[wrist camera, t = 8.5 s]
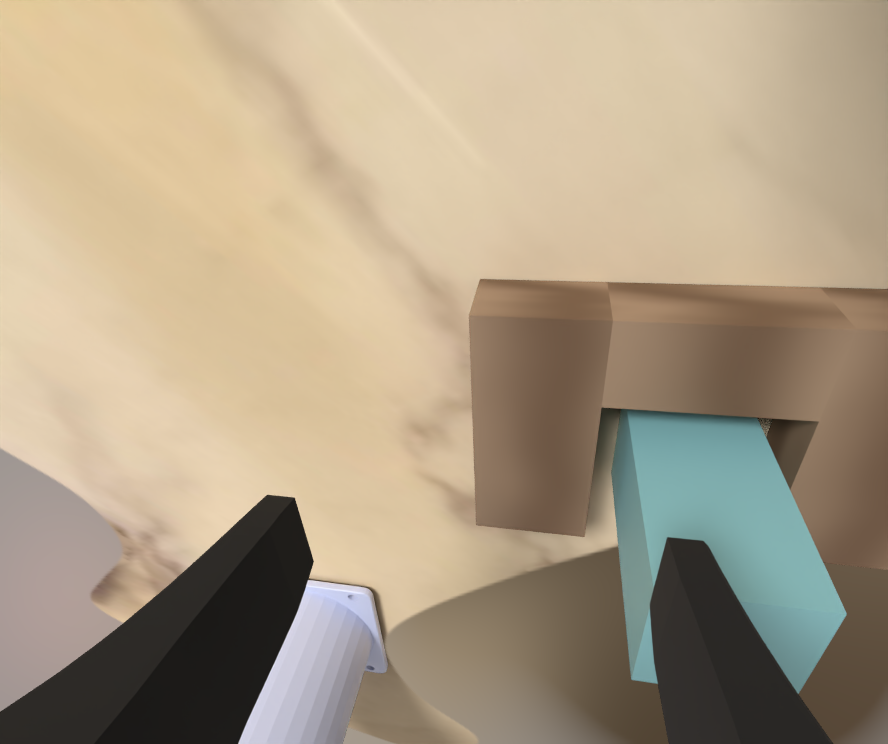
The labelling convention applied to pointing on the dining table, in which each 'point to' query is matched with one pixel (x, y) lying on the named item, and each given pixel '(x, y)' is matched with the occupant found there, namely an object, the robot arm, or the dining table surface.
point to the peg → (719, 531)
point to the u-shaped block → (682, 393)
